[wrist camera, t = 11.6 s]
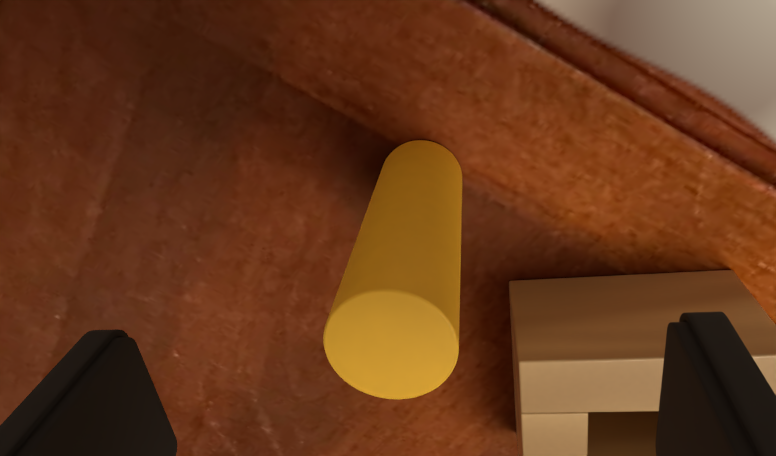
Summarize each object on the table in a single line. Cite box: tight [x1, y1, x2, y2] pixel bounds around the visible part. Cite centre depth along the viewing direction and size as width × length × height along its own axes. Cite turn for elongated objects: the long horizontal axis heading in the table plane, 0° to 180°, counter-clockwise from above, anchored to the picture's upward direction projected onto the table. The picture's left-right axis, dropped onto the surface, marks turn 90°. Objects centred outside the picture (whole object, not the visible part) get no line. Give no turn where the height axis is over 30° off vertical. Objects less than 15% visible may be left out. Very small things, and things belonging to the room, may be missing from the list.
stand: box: [509, 270, 776, 456], centre depth 22 cm, size 8×8×5 cm
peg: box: [323, 140, 462, 399], centre depth 17 cm, size 3×3×10 cm
